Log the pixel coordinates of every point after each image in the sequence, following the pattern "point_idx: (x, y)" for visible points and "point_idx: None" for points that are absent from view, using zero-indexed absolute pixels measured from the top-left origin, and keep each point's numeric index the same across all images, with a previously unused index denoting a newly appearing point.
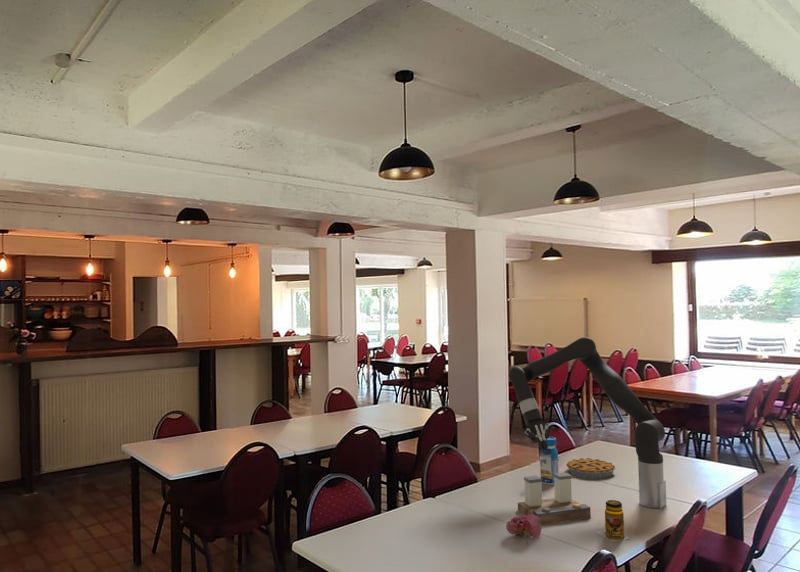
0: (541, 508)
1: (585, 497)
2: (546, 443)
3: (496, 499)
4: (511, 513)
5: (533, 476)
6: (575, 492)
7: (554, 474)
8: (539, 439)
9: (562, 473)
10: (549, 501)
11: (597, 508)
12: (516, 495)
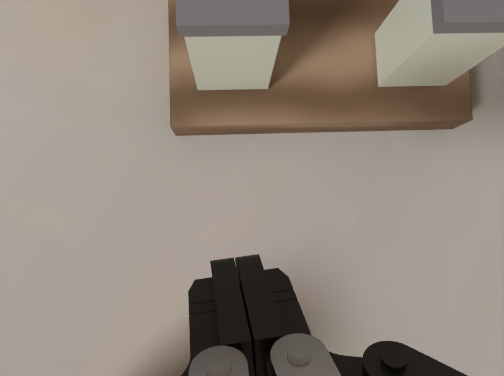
0: (392, 5)
1: (24, 198)
2: (191, 329)
3: (496, 309)
4: (496, 102)
5: (476, 8)
6: (28, 290)
7: (288, 11)
8: (331, 362)
9: (217, 5)
10: (303, 85)
11: (66, 36)
12: (369, 340)
